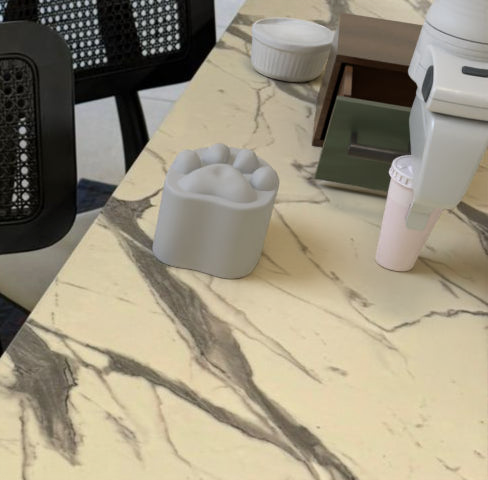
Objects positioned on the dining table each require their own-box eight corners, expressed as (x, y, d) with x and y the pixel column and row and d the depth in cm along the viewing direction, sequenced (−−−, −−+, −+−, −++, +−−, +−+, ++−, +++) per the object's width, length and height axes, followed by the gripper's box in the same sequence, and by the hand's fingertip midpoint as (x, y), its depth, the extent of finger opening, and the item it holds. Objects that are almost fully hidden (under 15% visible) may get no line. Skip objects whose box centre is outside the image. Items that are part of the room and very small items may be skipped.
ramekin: (282, 50, 145) (291, 11, 141) (343, 77, 138) (355, 37, 135) (226, 63, 139) (235, 22, 136) (287, 91, 133) (298, 50, 130)
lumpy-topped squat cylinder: (143, 259, 98) (158, 174, 92) (173, 202, 107) (188, 122, 101) (250, 284, 96) (273, 199, 90) (271, 224, 105) (292, 143, 99)
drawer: (422, 217, 107) (452, 136, 101) (312, 197, 108) (335, 116, 103) (417, 145, 121) (443, 70, 115) (319, 128, 123) (340, 53, 117)
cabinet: (420, 164, 119) (452, 72, 112) (311, 145, 121) (336, 54, 114) (416, 114, 130) (446, 28, 123) (317, 97, 132) (340, 12, 125)
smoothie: (348, 258, 101) (393, 119, 92) (381, 239, 104) (428, 103, 95) (407, 285, 98) (459, 143, 88) (439, 264, 101) (492, 126, 92)
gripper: (424, 19, 96) (378, 159, 105) (433, 97, 81) (379, 252, 90) (493, 30, 95) (441, 170, 104) (515, 111, 80) (452, 266, 89)
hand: (412, 209), depth 97 cm, fingers closed on smoothie, 6 cm apart
